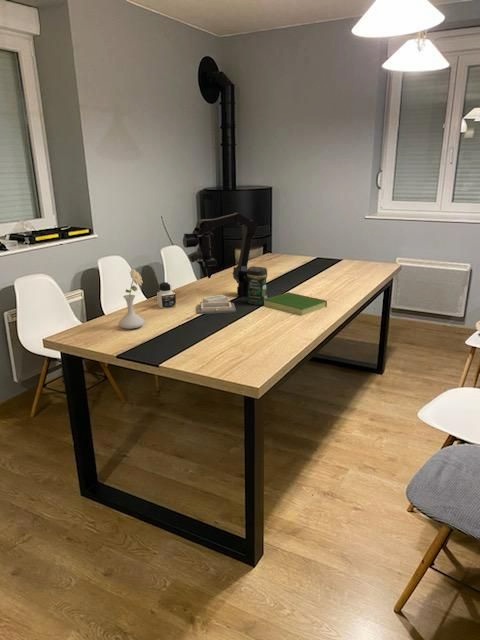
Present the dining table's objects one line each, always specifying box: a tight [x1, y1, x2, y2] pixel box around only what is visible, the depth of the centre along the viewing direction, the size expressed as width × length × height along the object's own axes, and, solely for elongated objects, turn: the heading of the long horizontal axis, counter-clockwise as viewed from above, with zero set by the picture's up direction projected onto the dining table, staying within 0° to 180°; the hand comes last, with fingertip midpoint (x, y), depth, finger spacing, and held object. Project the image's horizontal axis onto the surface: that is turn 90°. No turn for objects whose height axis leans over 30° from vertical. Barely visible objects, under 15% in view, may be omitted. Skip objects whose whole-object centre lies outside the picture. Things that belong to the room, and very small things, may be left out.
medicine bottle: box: [156, 281, 177, 310], centre depth 238 cm, size 7×7×12 cm
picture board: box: [196, 301, 237, 315], centre depth 233 cm, size 18×13×2 cm
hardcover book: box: [263, 291, 328, 316], centre depth 236 cm, size 25×19×4 cm
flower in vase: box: [117, 268, 146, 330], centre depth 208 cm, size 13×11×25 cm
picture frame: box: [202, 294, 229, 303], centre depth 245 cm, size 11×6×3 cm, turn 123°
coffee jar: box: [247, 265, 268, 306], centre depth 240 cm, size 10×8×19 cm
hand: (206, 276), depth 245 cm, fingers open, 9 cm apart
